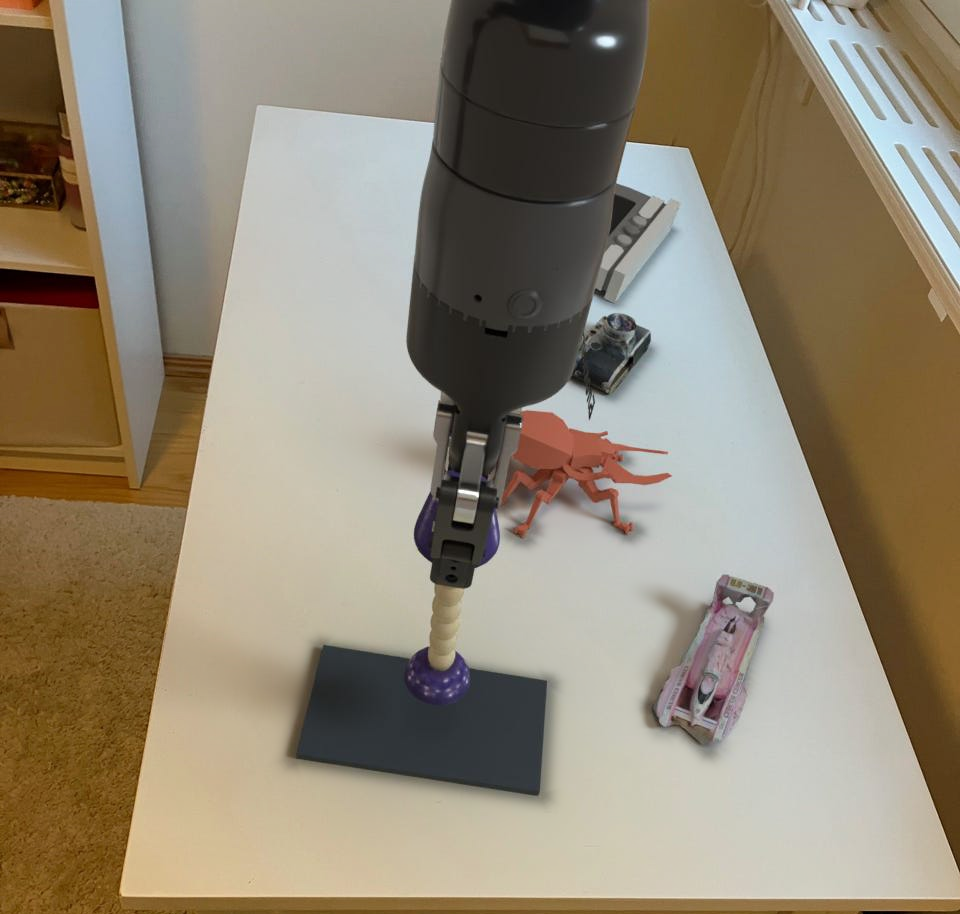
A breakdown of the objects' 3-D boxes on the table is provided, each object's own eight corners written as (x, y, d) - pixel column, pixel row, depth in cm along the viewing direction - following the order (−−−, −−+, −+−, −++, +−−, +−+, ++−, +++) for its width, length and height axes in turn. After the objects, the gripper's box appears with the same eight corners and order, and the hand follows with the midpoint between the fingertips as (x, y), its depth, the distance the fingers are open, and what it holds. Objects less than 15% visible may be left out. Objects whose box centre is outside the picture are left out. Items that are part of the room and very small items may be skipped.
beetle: (483, 535, 79) (509, 411, 69) (481, 431, 86) (504, 305, 76) (666, 551, 81) (716, 432, 71) (648, 447, 88) (692, 327, 78)
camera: (558, 377, 92) (567, 339, 89) (605, 326, 98) (615, 289, 95) (606, 400, 91) (617, 362, 88) (651, 347, 97) (663, 310, 94)
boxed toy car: (722, 757, 69) (743, 726, 66) (649, 723, 70) (666, 691, 67) (767, 628, 77) (788, 595, 74) (700, 599, 78) (718, 565, 75)
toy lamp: (387, 694, 62) (409, 505, 49) (407, 637, 65) (433, 445, 52) (461, 714, 62) (503, 530, 49) (478, 656, 65) (522, 468, 52)
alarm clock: (625, 274, 98) (481, 204, 100) (610, 313, 102) (472, 245, 104) (681, 203, 108) (549, 140, 110) (666, 240, 112) (539, 179, 114)
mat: (296, 758, 65) (296, 753, 64) (323, 649, 70) (323, 644, 70) (538, 796, 65) (539, 791, 65) (545, 685, 71) (547, 680, 70)
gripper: (437, 160, 45) (406, 446, 58) (388, 353, 36) (365, 637, 49) (600, 191, 45) (532, 468, 58) (592, 389, 36) (514, 662, 50)
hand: (456, 544), depth 54 cm, fingers closed on toy lamp, 4 cm apart
